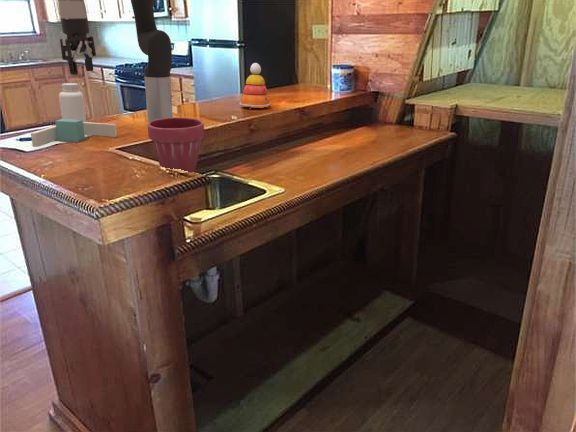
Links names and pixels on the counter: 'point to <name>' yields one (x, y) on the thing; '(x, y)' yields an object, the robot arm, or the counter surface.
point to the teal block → (70, 129)
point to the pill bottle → (72, 102)
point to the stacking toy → (255, 89)
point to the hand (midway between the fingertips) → (82, 72)
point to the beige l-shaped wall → (89, 129)
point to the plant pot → (176, 141)
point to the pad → (71, 141)
